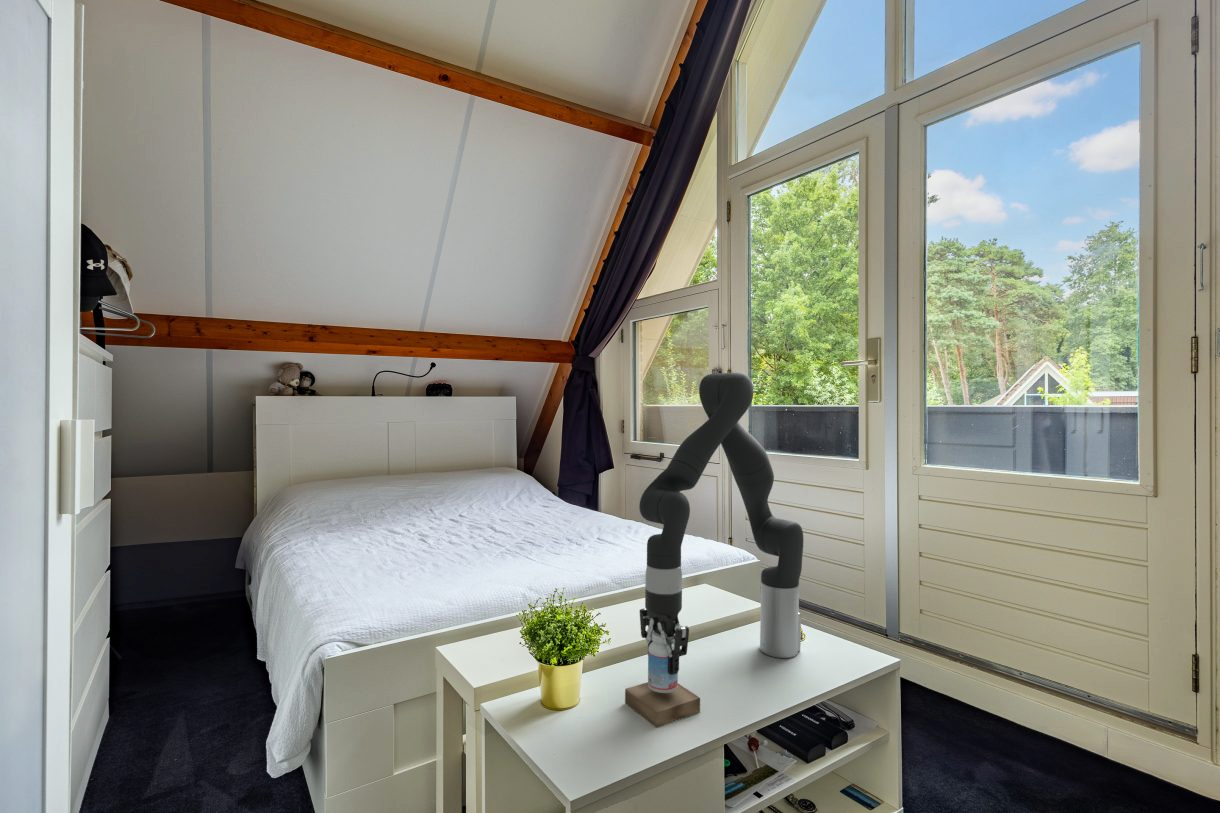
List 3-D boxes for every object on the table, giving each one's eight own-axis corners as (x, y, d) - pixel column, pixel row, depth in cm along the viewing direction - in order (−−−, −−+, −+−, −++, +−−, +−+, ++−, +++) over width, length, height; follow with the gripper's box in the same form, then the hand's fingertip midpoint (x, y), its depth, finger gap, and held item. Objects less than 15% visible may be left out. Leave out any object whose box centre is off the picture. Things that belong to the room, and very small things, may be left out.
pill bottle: (676, 695, 123) (676, 640, 123) (645, 692, 124) (646, 637, 124) (678, 681, 129) (679, 628, 129) (650, 678, 130) (650, 626, 130)
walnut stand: (667, 689, 134) (667, 676, 134) (700, 712, 125) (700, 697, 125) (625, 703, 128) (625, 688, 128) (656, 727, 119) (656, 712, 119)
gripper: (700, 593, 122) (699, 676, 122) (657, 574, 134) (656, 650, 135) (670, 600, 118) (669, 686, 118) (628, 580, 130) (628, 658, 131)
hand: (662, 666), depth 127 cm, fingers closed on pill bottle, 6 cm apart
